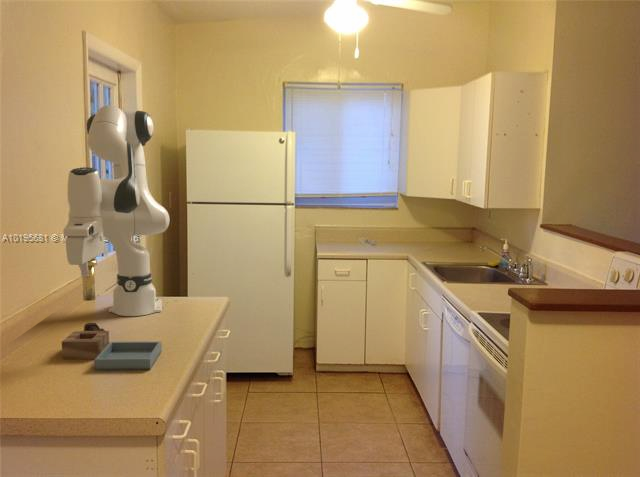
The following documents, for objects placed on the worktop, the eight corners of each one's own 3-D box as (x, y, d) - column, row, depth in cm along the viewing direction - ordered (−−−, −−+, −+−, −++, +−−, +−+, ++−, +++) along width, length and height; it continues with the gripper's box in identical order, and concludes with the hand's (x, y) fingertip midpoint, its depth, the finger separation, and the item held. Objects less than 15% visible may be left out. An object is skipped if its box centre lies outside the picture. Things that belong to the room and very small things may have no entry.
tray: (111, 351, 168) (110, 341, 168) (161, 351, 169) (161, 341, 169) (94, 370, 154) (94, 359, 153) (150, 369, 155) (150, 359, 154)
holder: (75, 347, 171) (74, 331, 171) (109, 346, 172) (108, 330, 171) (62, 358, 162) (61, 341, 161) (98, 358, 162) (98, 341, 162)
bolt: (92, 338, 186) (102, 350, 174) (77, 332, 183) (86, 344, 171) (100, 321, 187) (111, 332, 175) (86, 315, 184) (96, 326, 172)
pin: (83, 297, 166) (81, 259, 164) (100, 297, 166) (99, 259, 165) (77, 301, 161) (75, 262, 160) (95, 301, 161) (93, 262, 160)
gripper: (87, 222, 171) (89, 267, 173) (60, 230, 151) (63, 282, 153) (109, 222, 171) (110, 267, 173) (85, 231, 151) (87, 282, 153)
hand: (88, 274), depth 163 cm, fingers closed on pin, 3 cm apart
